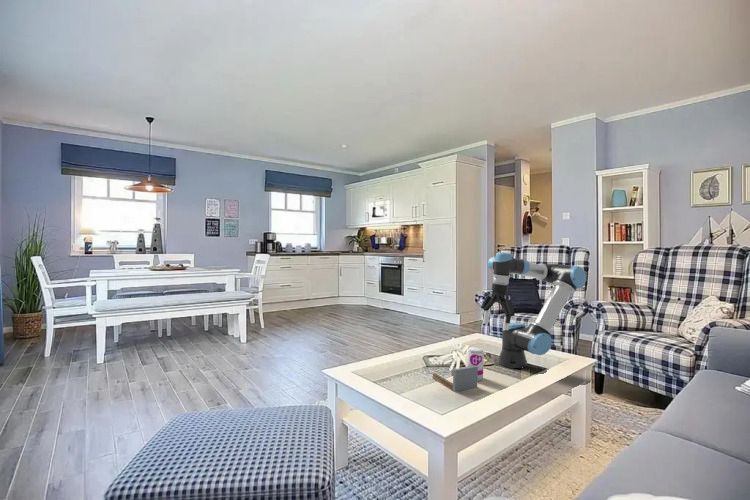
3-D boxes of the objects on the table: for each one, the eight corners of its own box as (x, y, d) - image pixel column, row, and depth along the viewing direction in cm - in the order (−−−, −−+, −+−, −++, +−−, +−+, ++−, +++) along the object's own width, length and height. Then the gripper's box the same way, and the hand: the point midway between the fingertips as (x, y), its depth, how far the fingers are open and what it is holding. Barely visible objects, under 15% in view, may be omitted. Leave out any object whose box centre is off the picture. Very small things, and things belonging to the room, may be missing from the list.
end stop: (475, 386, 180) (475, 365, 179) (477, 387, 179) (477, 366, 178) (452, 390, 174) (453, 369, 174) (454, 392, 173) (455, 370, 172)
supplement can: (483, 382, 185) (484, 351, 184) (466, 380, 187) (467, 350, 186) (482, 376, 193) (483, 347, 192) (465, 374, 195) (466, 345, 194)
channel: (453, 374, 194) (454, 369, 194) (475, 386, 180) (475, 381, 180) (432, 378, 189) (432, 373, 188) (452, 390, 174) (452, 385, 174)
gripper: (477, 280, 197) (472, 320, 197) (514, 286, 175) (508, 332, 175) (488, 281, 201) (483, 321, 200) (525, 287, 178) (520, 332, 178)
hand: (495, 326), depth 188 cm, fingers open, 13 cm apart
